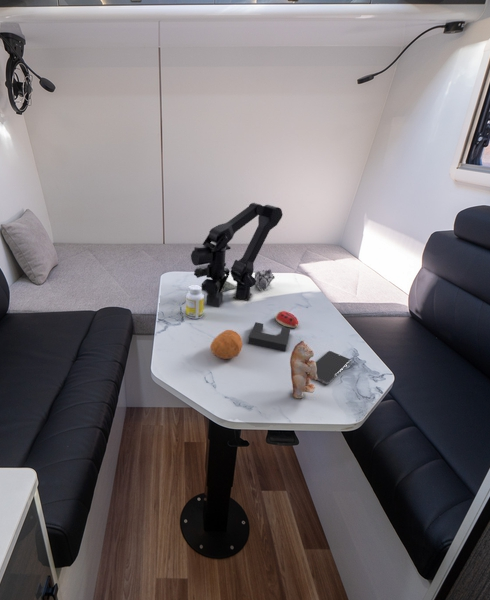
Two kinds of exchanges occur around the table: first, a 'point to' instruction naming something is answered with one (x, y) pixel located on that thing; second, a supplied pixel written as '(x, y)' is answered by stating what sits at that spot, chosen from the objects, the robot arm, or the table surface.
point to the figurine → (302, 370)
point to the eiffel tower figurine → (227, 286)
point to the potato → (227, 344)
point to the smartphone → (330, 366)
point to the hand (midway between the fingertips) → (214, 298)
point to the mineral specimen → (263, 279)
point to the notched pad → (269, 338)
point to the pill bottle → (194, 302)
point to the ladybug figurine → (287, 319)
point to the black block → (217, 300)
